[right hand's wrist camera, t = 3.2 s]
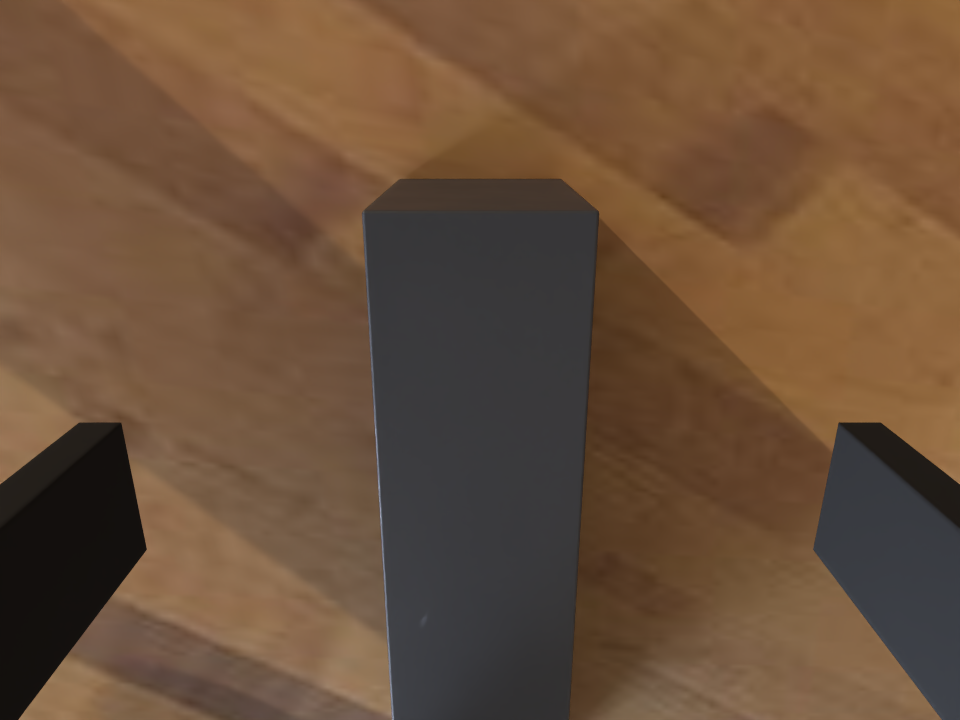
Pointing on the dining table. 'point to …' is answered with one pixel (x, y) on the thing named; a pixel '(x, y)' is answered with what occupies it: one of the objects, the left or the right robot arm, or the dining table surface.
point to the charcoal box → (480, 438)
